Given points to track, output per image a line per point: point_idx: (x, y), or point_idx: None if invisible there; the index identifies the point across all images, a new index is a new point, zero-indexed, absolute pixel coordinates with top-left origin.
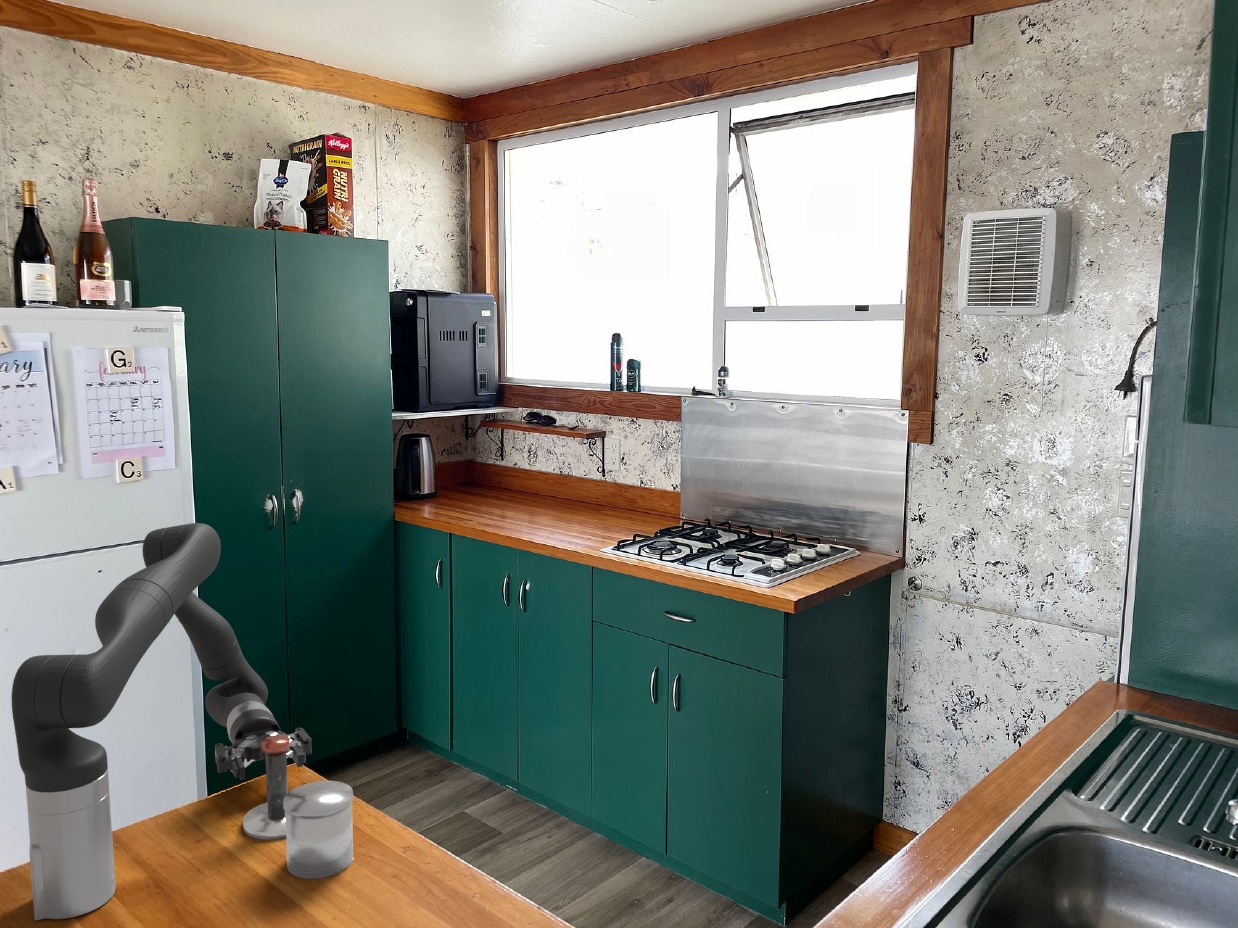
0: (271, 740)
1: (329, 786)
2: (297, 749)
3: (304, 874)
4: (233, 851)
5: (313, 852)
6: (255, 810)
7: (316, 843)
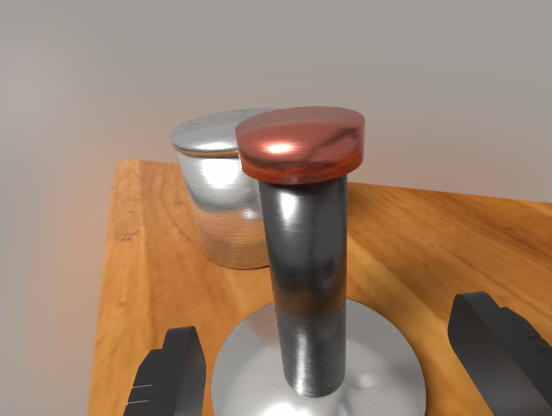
0: (316, 123)
1: (204, 136)
2: (162, 390)
3: None
4: (414, 297)
5: None
6: None
7: None
